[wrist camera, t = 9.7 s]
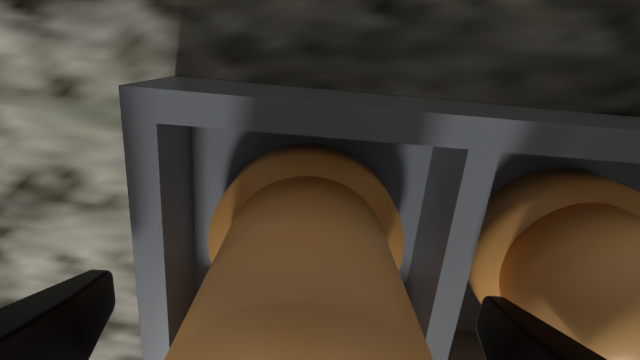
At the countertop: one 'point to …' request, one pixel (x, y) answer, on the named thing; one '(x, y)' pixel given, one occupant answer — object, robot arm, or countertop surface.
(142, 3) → the countertop surface
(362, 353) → the tan pear-shaped knob
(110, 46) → the countertop surface
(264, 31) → the countertop surface
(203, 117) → the gray divided tray
